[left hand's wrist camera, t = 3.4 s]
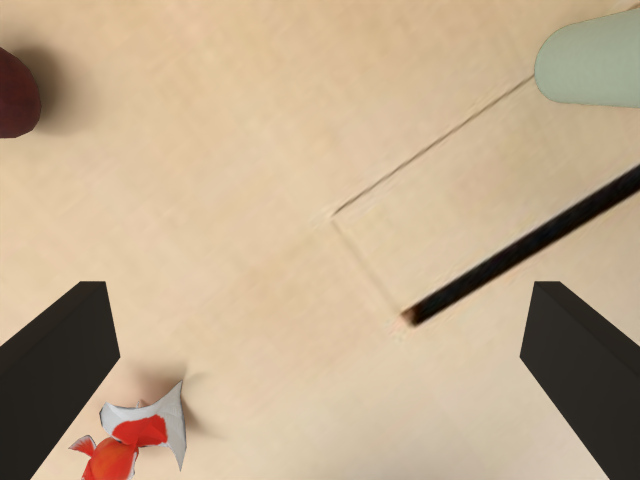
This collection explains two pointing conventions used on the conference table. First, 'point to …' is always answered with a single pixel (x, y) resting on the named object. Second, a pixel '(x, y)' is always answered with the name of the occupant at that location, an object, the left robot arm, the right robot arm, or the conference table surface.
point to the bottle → (593, 62)
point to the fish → (134, 436)
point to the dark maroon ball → (17, 97)
